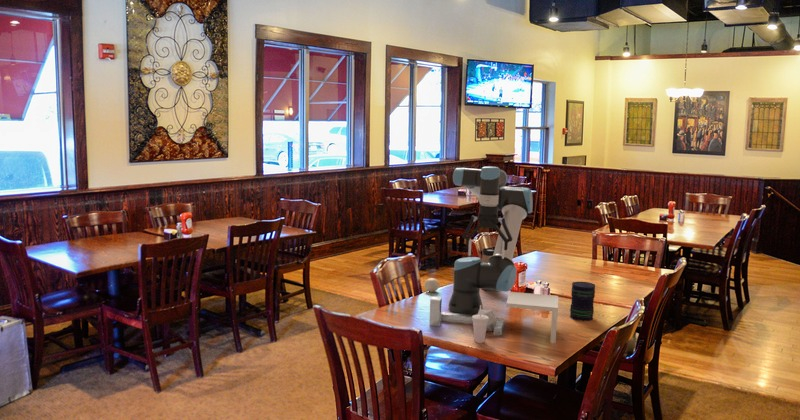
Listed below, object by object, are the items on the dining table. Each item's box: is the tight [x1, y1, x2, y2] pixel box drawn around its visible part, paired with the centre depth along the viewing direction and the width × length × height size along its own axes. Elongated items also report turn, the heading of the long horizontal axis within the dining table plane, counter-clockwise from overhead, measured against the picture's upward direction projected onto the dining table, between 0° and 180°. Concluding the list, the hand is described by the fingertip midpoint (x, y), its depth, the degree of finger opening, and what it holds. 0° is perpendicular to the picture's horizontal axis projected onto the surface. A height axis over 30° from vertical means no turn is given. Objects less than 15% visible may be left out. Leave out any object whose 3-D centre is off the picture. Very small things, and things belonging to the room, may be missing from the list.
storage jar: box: [569, 281, 596, 322], centre depth 296 cm, size 10×10×15 cm
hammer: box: [428, 296, 506, 336], centre depth 279 cm, size 30×14×11 cm, turn 77°
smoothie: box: [472, 305, 489, 344], centre depth 261 cm, size 6×6×14 cm
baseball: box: [423, 277, 440, 293], centre depth 332 cm, size 7×7×7 cm
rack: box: [505, 291, 559, 344], centre depth 273 cm, size 20×18×14 cm
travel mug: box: [481, 247, 495, 292], centre depth 340 cm, size 8×8×20 cm
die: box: [476, 308, 497, 332], centre depth 276 cm, size 8×9×10 cm
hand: (486, 256), depth 279 cm, fingers open, 13 cm apart
